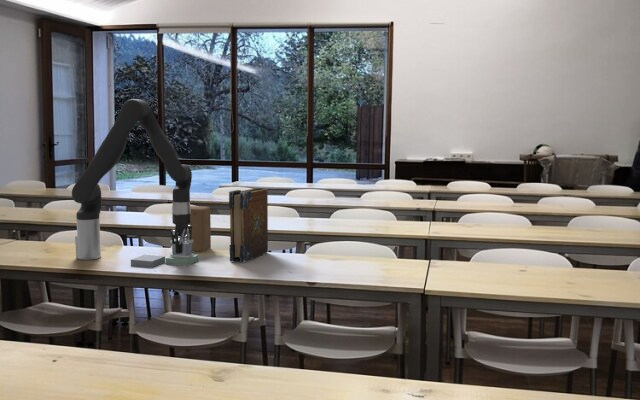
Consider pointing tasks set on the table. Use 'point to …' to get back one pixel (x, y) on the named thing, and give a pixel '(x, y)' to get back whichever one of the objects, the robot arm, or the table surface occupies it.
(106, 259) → the table surface
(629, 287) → the table surface
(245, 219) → the decorative book
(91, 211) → the robot arm
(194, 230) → the wooden block
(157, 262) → the stand
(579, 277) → the table surface
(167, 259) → the stand
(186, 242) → the housing
